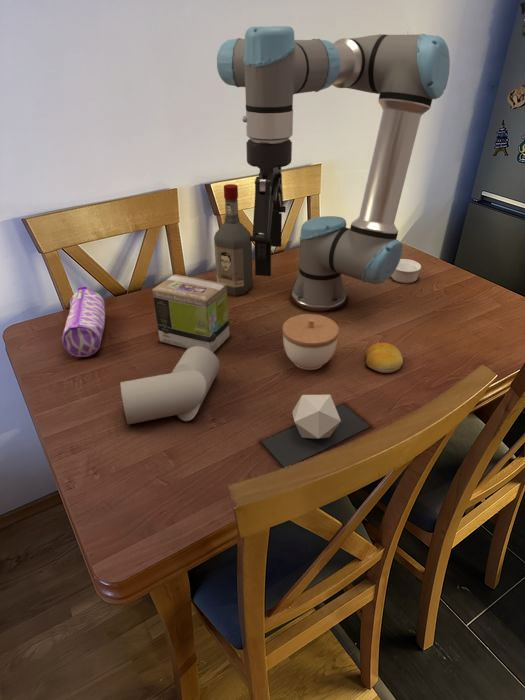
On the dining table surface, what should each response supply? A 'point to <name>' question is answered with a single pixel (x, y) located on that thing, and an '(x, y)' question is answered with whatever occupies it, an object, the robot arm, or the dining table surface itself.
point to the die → (316, 416)
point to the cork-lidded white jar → (310, 340)
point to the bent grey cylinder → (172, 389)
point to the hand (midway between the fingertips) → (269, 259)
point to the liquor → (233, 248)
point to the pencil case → (84, 323)
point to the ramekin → (406, 271)
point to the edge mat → (312, 439)
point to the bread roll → (384, 358)
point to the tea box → (192, 312)
